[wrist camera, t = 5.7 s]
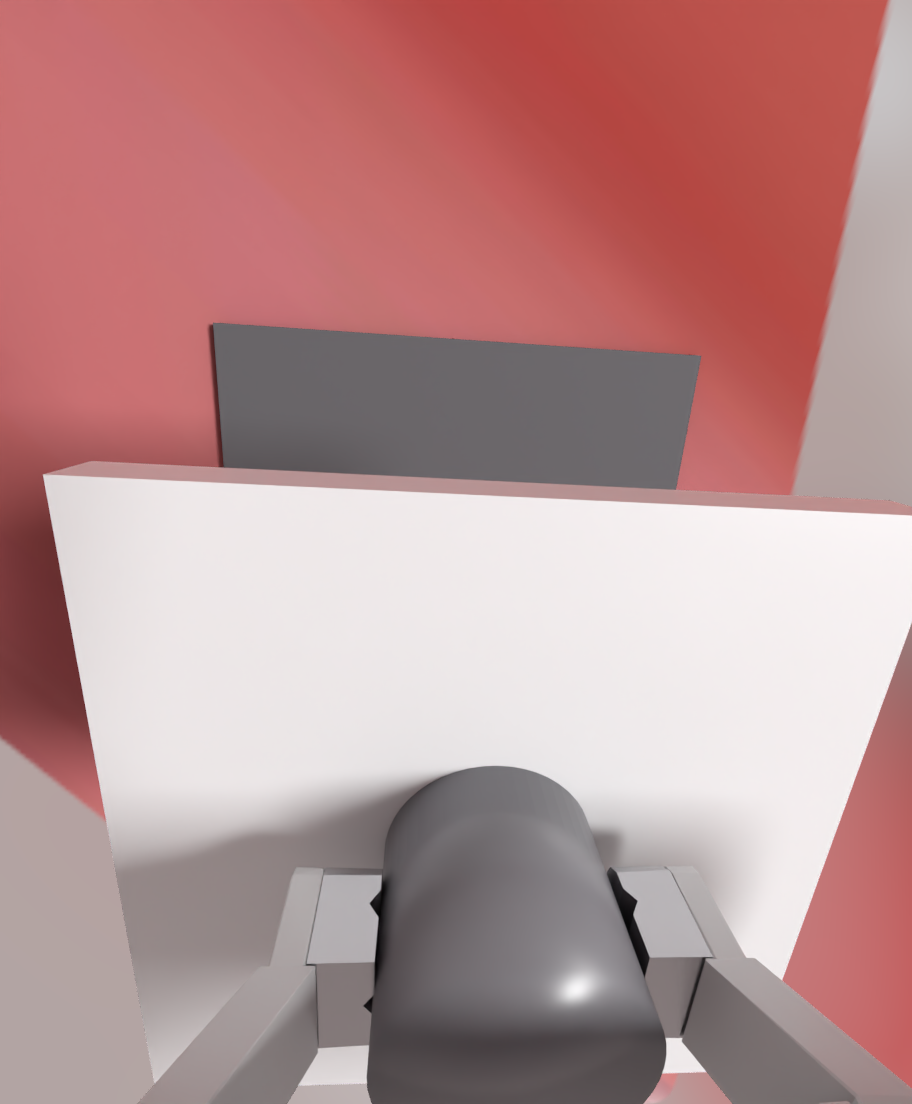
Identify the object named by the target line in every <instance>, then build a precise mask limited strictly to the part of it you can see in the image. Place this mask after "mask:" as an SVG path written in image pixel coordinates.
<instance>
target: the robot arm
mask: <svg viewBox="0 0 912 1104" xmlns="http://www.w3.org/2000/svg"><path fill="white" fill-rule="evenodd" d="M607 876H608V879H609V882H610V884H611V887H612V890H613V892H614V895H615V898H616V901H617V903H618V906H619V909H620V912H621V914H622V917H623V920H624V923H625V925H626V928H627V931H628V934H629V936H630V939H631V942H632V945H633V947H634V950H635V953H636V956H637V958H638V961H639V964H640V967H641V969H642V972H643V975H644V978H645V980H646V983H647V986H648V989H649V991H650V994H651V997H652V1000H653V1002H654V1005H655V1008H656V1011H657V1013H658V1016H659V1019H660V1022H661V1024H662V1027H663V1030H664V1034H665V1038H682V1042H683V1044H684V1045H685V1046H686V1047H687V1049H688V1050H689V1051H690V1052H691V1053H692V1055H693V1056H694V1057H695V1058H696V1060H697V1061H698V1062H699V1063H700V1065H701V1066H702V1067H703V1068H704V1069H705V1071H706V1072H707V1073H708V1074H709V1076H710V1077H711V1078H712V1079H713V1080H714V1082H715V1083H716V1084H717V1085H718V1087H719V1088H720V1089H721V1090H722V1091H723V1093H724V1094H725V1095H726V1096H727V1098H728V1099H729V1100H730V1101H731V1102H732V1104H912V1089H911V1088H910V1087H909V1086H908V1085H907V1084H906V1083H904V1082H903V1081H902V1080H901V1079H899V1078H898V1077H897V1076H896V1075H895V1074H894V1073H892V1072H891V1071H890V1070H889V1069H887V1068H886V1067H885V1066H884V1065H883V1064H882V1063H880V1062H879V1061H878V1060H877V1059H876V1058H874V1057H873V1056H872V1055H871V1054H869V1053H868V1052H867V1051H866V1050H865V1049H863V1048H862V1047H861V1046H860V1045H859V1044H858V1043H856V1042H855V1041H854V1040H853V1039H851V1038H850V1037H849V1036H848V1035H847V1034H845V1033H844V1032H843V1031H842V1030H841V1029H839V1028H838V1027H837V1026H836V1025H835V1024H834V1023H832V1022H831V1021H830V1020H829V1019H828V1018H826V1017H825V1016H824V1015H823V1014H821V1013H820V1012H819V1011H818V1010H817V1009H816V1008H814V1007H813V1006H812V1005H811V1004H809V1003H808V1002H807V1001H806V1000H805V999H803V998H802V997H801V996H800V995H799V994H798V993H796V992H795V991H794V990H793V989H792V988H790V987H789V986H788V985H787V984H786V983H784V982H783V981H782V980H781V979H780V978H778V977H777V976H776V975H775V974H774V973H772V972H771V971H770V970H769V969H768V968H766V967H765V966H764V965H763V964H762V963H760V962H759V961H758V960H757V959H756V958H746V956H745V954H744V953H743V951H742V949H741V947H740V946H739V944H738V942H737V940H736V938H735V937H734V935H733V933H732V931H731V929H730V928H729V926H728V924H727V922H726V920H725V919H724V917H723V915H722V913H721V911H720V910H719V908H718V906H717V904H716V902H715V901H714V899H713V897H712V895H711V893H710V892H709V890H708V888H707V886H706V884H705V883H704V881H703V879H702V877H701V875H700V874H699V872H698V871H697V870H696V869H695V868H694V867H693V866H665V867H663V866H626V867H610V868H609V870H608V871H607ZM382 889H383V869H369V868H328V867H326V868H310V867H296V869H295V871H294V873H293V875H292V877H291V881H290V885H289V889H288V892H287V896H286V900H285V904H284V908H283V912H282V915H281V919H280V923H279V927H278V931H277V935H276V938H275V942H274V946H273V950H272V954H271V958H270V961H269V965H268V966H260V967H258V968H257V969H256V970H255V971H254V973H253V974H252V975H251V976H250V977H249V978H248V979H247V980H246V982H245V983H244V984H243V985H242V986H241V987H240V988H239V989H238V991H237V992H236V993H235V994H234V995H233V996H232V997H231V998H230V1000H229V1001H228V1002H227V1003H226V1004H225V1005H224V1006H223V1007H222V1009H221V1010H220V1011H219V1012H218V1013H217V1014H216V1015H215V1017H214V1018H213V1019H212V1020H211V1021H210V1022H209V1023H208V1024H207V1026H206V1027H205V1028H204V1029H203V1030H202V1031H201V1032H200V1033H199V1035H198V1036H197V1037H196V1038H195V1039H194V1040H193V1041H192V1042H191V1044H190V1045H189V1046H188V1047H187V1048H186V1049H185V1050H184V1051H183V1053H182V1054H181V1055H180V1056H179V1057H178V1058H177V1059H176V1060H175V1062H174V1063H173V1064H172V1065H171V1066H170V1067H169V1068H168V1069H167V1071H166V1072H165V1073H164V1074H163V1075H162V1076H161V1077H160V1079H159V1080H158V1081H157V1082H156V1083H155V1084H154V1085H153V1086H152V1088H151V1089H150V1090H149V1091H148V1092H147V1093H146V1094H145V1096H144V1097H143V1098H142V1099H141V1100H140V1101H139V1102H138V1103H137V1104H287V1103H288V1101H289V1100H290V1098H291V1096H292V1095H293V1093H294V1092H295V1090H296V1088H297V1087H298V1085H299V1083H300V1082H301V1080H302V1078H303V1077H304V1075H305V1073H306V1072H307V1070H308V1068H309V1067H310V1065H311V1063H312V1062H313V1060H314V1059H315V1057H316V1055H317V1054H318V1048H332V1047H348V1046H364V1045H369V1040H370V1027H371V1015H372V1002H373V995H374V991H375V979H376V966H377V954H378V927H379V921H380V916H381V903H382Z"/></svg>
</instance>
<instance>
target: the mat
mask: <svg viewBox="0 0 912 1104" xmlns="http://www.w3.org/2000/svg"><path fill="white" fill-rule="evenodd" d="M213 329H214V343H215V356H216V369H217V383H218V396H219V409H220V423H221V436H222V450H223V463H224V468H243V469H263V470H283V471H304V472H324V473H344V474H364V475H385V476H405V477H425V478H445V479H466V480H486V481H506V482H527V483H547V484H567V485H587V486H608V487H628V488H648V489H668V490H676V486H677V481H678V476H679V470H680V465H681V460H682V455H683V449H684V444H685V439H686V434H687V428H688V423H689V418H690V413H691V407H692V402H693V397H694V392H695V386H696V381H697V376H698V371H699V365H700V360H701V356H696V355H681V354H666V353H652V352H637V351H622V350H608V349H593V348H578V347H563V346H549V345H534V344H519V343H504V342H490V341H475V340H460V339H446V338H431V337H416V336H401V335H387V334H372V333H357V332H342V331H328V330H313V329H298V328H284V327H269V326H254V325H239V324H225V323H213Z"/></svg>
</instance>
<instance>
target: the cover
mask: <svg viewBox="0 0 912 1104" xmlns="http://www.w3.org/2000/svg"><path fill="white" fill-rule="evenodd" d="M43 478H44V484H45V489H46V494H47V500H48V505H49V511H50V516H51V522H52V527H53V533H54V538H55V544H56V549H57V555H58V560H59V565H60V571H61V576H62V582H63V587H64V593H65V598H66V604H67V609H68V615H69V620H70V626H71V631H72V637H73V642H74V647H75V653H76V658H77V664H78V669H79V675H80V680H81V686H82V691H83V697H84V702H85V708H86V713H87V718H88V724H89V729H90V735H91V740H92V746H93V751H94V757H95V762H96V768H97V773H98V779H99V784H100V790H101V795H102V800H103V806H104V811H105V817H106V822H107V828H108V833H109V838H110V843H111V849H112V855H113V861H114V866H115V871H116V877H117V882H118V888H119V893H120V898H121V904H122V910H123V915H124V921H125V926H126V932H127V937H128V942H129V948H130V953H131V959H132V964H133V970H134V975H135V981H136V986H137V992H138V997H139V1003H140V1008H141V1013H142V1019H143V1025H144V1030H145V1035H146V1041H147V1046H148V1052H149V1057H150V1063H151V1068H152V1073H153V1079H154V1084H155V1083H156V1082H157V1081H158V1080H159V1079H160V1077H161V1076H162V1075H163V1074H164V1073H165V1072H166V1071H167V1069H168V1068H169V1067H170V1066H171V1065H172V1064H173V1063H174V1062H175V1060H176V1059H177V1058H178V1057H179V1056H180V1055H181V1054H182V1053H183V1051H184V1050H185V1049H186V1048H187V1047H188V1046H189V1045H190V1044H191V1042H192V1041H193V1040H194V1039H195V1038H196V1037H197V1036H198V1035H199V1033H200V1032H201V1031H202V1030H203V1029H204V1028H205V1027H206V1026H207V1024H208V1023H209V1022H210V1021H211V1020H212V1019H213V1018H214V1017H215V1015H216V1014H217V1013H218V1012H219V1011H220V1010H221V1009H222V1007H223V1006H224V1005H225V1004H226V1003H227V1002H228V1001H229V1000H230V998H231V997H232V996H233V995H234V994H235V993H236V992H237V991H238V989H239V988H240V987H241V986H242V985H243V984H244V983H245V982H246V980H247V979H248V978H249V977H250V976H251V975H252V974H253V973H254V971H255V970H256V969H257V968H258V967H260V966H268V965H269V961H270V958H271V954H272V950H273V946H274V942H275V938H276V935H277V931H278V927H279V923H280V919H281V915H282V912H283V908H284V904H285V900H286V896H287V892H288V889H289V885H290V881H291V877H292V875H293V873H294V871H295V869H296V867H310V868H326V867H328V868H369V869H383V889H382V903H381V916H380V921H379V927H378V954H377V966H376V979H375V991H374V995H373V1002H372V1015H371V1027H370V1040H369V1045H364V1046H348V1047H332V1048H318V1054H317V1055H316V1057H315V1059H314V1060H313V1062H312V1063H311V1065H310V1067H309V1068H308V1070H307V1072H306V1073H305V1075H304V1077H303V1078H302V1080H301V1082H300V1083H299V1085H298V1086H302V1085H331V1084H361V1083H367V1088H368V1093H369V1096H370V1099H371V1102H372V1104H643V1103H644V1102H645V1101H646V1100H647V1098H648V1097H649V1096H650V1095H651V1093H652V1092H653V1090H654V1089H655V1087H656V1085H657V1083H658V1082H659V1080H660V1077H661V1075H662V1073H690V1072H706V1071H705V1069H704V1068H703V1067H702V1066H701V1065H700V1063H699V1062H698V1061H697V1060H696V1058H695V1057H694V1056H693V1055H692V1053H691V1052H690V1051H689V1050H688V1049H687V1047H686V1046H685V1045H684V1044H683V1042H682V1038H665V1034H664V1030H663V1027H662V1024H661V1022H660V1019H659V1016H658V1013H657V1011H656V1008H655V1005H654V1002H653V1000H652V997H651V994H650V991H649V989H648V986H647V983H646V980H645V978H644V975H643V972H642V969H641V967H640V964H639V961H638V958H637V956H636V953H635V950H634V947H633V945H632V942H631V939H630V936H629V934H628V931H627V928H626V925H625V923H624V920H623V917H622V914H621V912H620V909H619V906H618V903H617V901H616V898H615V895H614V892H613V890H612V887H611V884H610V882H609V879H608V876H607V871H608V870H609V868H610V867H626V866H663V867H665V866H693V867H694V868H695V869H696V870H697V871H698V872H699V874H700V875H701V877H702V879H703V881H704V883H705V884H706V886H707V888H708V890H709V892H710V893H711V895H712V897H713V899H714V901H715V902H716V904H717V906H718V908H719V910H720V911H721V913H722V915H723V917H724V919H725V920H726V922H727V924H728V926H729V928H730V929H731V931H732V933H733V935H734V937H735V938H736V940H737V942H738V944H739V946H740V947H741V949H742V951H743V953H744V954H745V956H746V958H756V959H757V960H758V961H759V962H760V963H762V964H763V965H764V966H765V967H766V968H768V969H769V970H770V971H771V972H772V973H774V974H775V975H776V976H777V977H778V978H780V979H781V980H782V979H783V976H784V973H785V971H786V968H787V965H788V962H789V959H790V957H791V954H792V951H793V948H794V946H795V943H796V940H797V937H798V935H799V932H800V929H801V926H802V924H803V921H804V918H805V915H806V913H807V910H808V907H809V904H810V901H811V899H812V896H813V893H814V891H815V888H816V885H817V882H818V880H819V877H820V874H821V871H822V868H823V866H824V863H825V860H826V857H827V854H828V852H829V849H830V846H831V843H832V841H833V838H834V835H835V833H836V830H837V827H838V824H839V822H840V819H841V816H842V813H843V811H844V808H845V805H846V802H847V800H848V797H849V794H850V791H851V788H852V786H853V783H854V780H855V777H856V774H857V772H858V769H859V766H860V763H861V761H862V758H863V755H864V752H865V750H866V747H867V744H868V741H869V739H870V736H871V733H872V730H873V728H874V725H875V722H876V719H877V717H878V714H879V711H880V708H881V706H882V703H883V700H884V697H885V695H886V692H887V689H888V686H889V683H890V681H891V678H892V675H893V672H894V670H895V667H896V664H897V662H898V659H899V656H900V653H901V650H902V648H903V645H904V642H905V639H906V637H907V634H908V631H909V628H910V626H911V623H912V507H911V506H908V505H904V504H900V503H897V502H893V501H890V500H870V499H851V498H830V497H810V496H790V495H770V494H749V493H729V492H709V491H689V490H668V489H648V488H628V487H608V486H587V485H567V484H547V483H527V482H506V481H486V480H466V479H445V478H425V477H405V476H385V475H364V474H344V473H324V472H304V471H283V470H263V469H243V468H223V467H202V466H182V465H162V464H142V463H121V462H101V461H90V462H86V463H82V464H79V465H75V466H72V467H68V468H64V469H61V470H57V471H54V472H50V473H46V474H43Z"/></svg>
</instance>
